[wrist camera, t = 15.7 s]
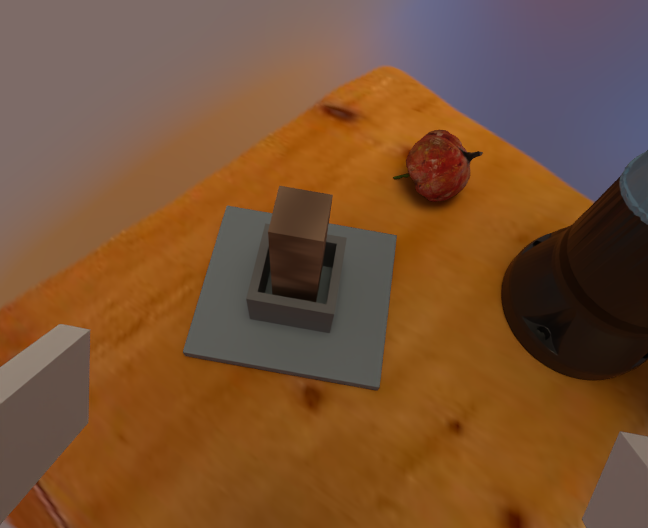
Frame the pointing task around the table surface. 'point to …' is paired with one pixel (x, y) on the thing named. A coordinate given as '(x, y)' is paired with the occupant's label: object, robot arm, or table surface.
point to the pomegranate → (439, 165)
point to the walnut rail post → (298, 242)
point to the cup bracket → (295, 305)
